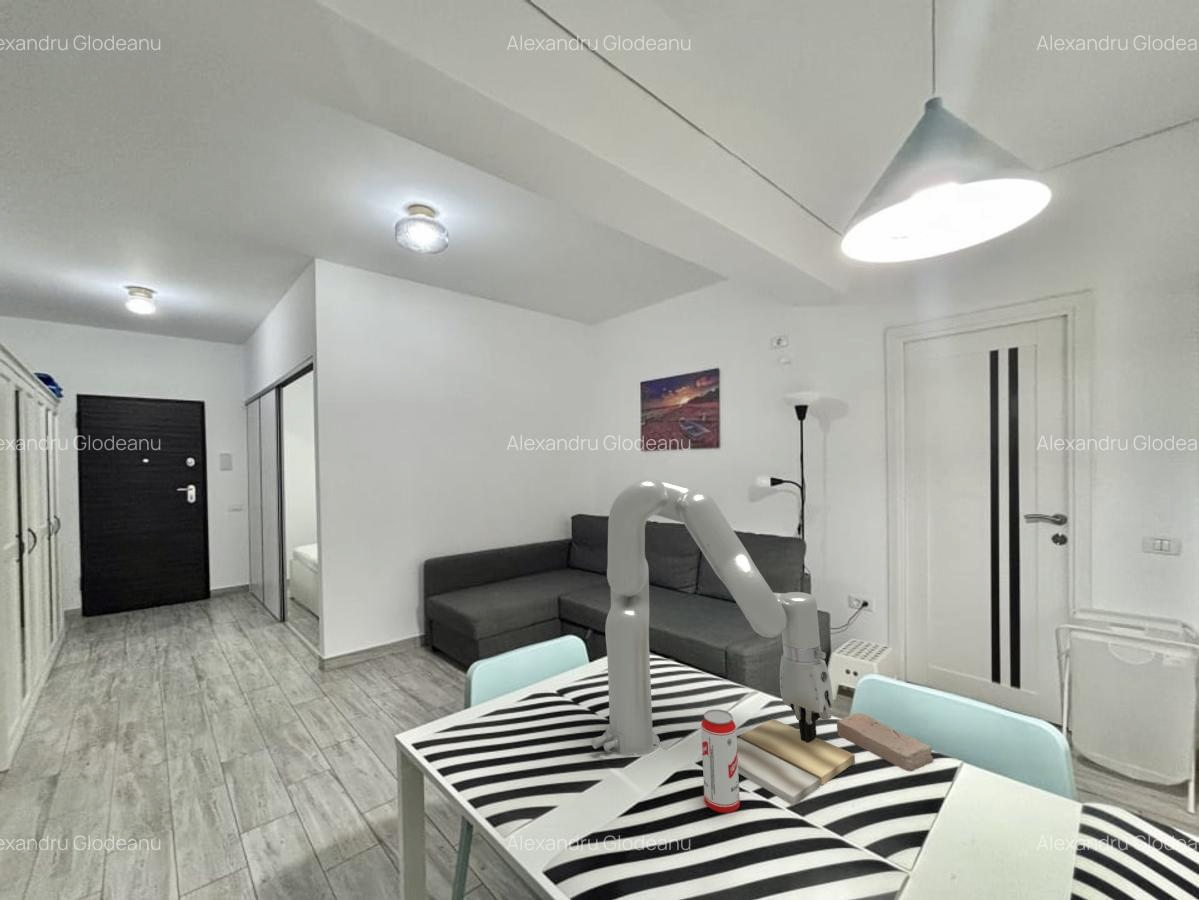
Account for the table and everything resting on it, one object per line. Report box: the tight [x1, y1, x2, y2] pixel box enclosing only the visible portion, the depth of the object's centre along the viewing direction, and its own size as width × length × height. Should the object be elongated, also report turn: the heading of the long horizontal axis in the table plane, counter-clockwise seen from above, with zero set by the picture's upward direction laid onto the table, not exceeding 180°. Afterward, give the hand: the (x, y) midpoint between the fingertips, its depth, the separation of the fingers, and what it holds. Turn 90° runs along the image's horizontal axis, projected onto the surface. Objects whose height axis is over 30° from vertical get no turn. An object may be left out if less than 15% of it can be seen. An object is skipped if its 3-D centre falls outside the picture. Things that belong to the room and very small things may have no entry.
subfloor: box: [737, 737, 820, 806], centre depth 101 cm, size 24×20×2 cm
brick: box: [836, 712, 934, 772], centre depth 104 cm, size 17×8×5 cm, turn 26°
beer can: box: [700, 708, 741, 814], centre depth 89 cm, size 6×6×16 cm
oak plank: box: [739, 718, 856, 786], centre depth 103 cm, size 12×19×2 cm, turn 35°
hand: (808, 739), depth 105 cm, fingers closed
